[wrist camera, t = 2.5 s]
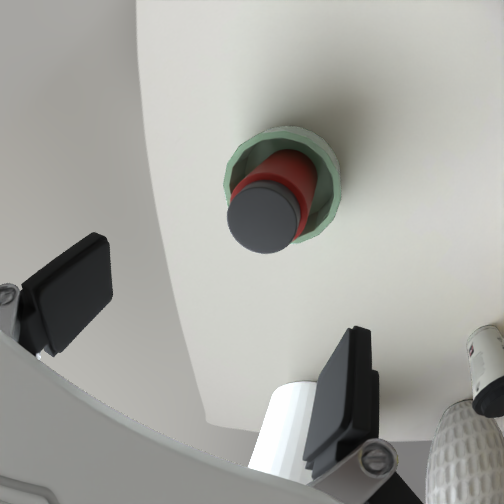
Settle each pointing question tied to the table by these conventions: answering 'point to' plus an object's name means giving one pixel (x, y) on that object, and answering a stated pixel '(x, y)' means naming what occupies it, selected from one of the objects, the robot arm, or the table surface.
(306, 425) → the bottle
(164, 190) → the table surface
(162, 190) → the table surface
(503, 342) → the coffee cup
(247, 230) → the sauce bottle
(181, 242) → the table surface
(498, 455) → the vase
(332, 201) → the stoneware cup
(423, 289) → the table surface
